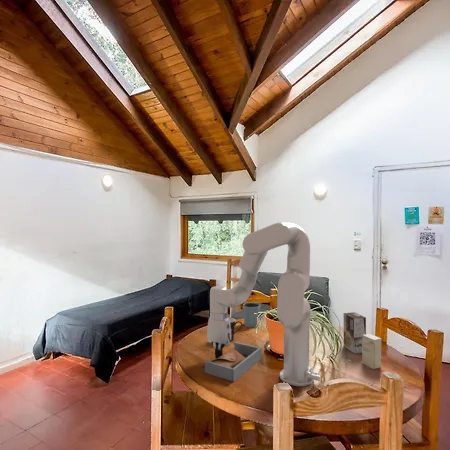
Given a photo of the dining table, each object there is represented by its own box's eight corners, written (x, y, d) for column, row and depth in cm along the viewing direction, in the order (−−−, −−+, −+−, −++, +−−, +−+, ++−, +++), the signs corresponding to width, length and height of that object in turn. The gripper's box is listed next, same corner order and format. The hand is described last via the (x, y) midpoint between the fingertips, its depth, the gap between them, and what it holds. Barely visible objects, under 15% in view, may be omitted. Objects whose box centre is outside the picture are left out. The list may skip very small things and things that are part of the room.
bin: (261, 358, 136) (261, 347, 136) (233, 381, 116) (233, 369, 116) (235, 351, 143) (235, 341, 143) (204, 372, 123) (204, 361, 123)
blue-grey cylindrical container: (253, 321, 187) (253, 301, 187) (264, 326, 179) (264, 305, 178) (239, 324, 182) (239, 303, 182) (249, 329, 173) (249, 307, 173)
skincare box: (361, 363, 131) (361, 334, 131) (369, 361, 133) (369, 333, 133) (374, 369, 125) (374, 339, 125) (381, 367, 127) (381, 338, 127)
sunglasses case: (224, 375, 120) (217, 358, 122) (212, 379, 124) (206, 363, 126) (249, 358, 135) (242, 344, 137) (237, 363, 138) (231, 348, 140)
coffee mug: (217, 341, 155) (216, 322, 155) (220, 335, 163) (220, 316, 163) (239, 343, 152) (239, 323, 152) (242, 337, 161) (242, 318, 160)
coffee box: (366, 352, 141) (366, 317, 141) (353, 353, 140) (353, 318, 140) (355, 344, 150) (355, 311, 150) (343, 345, 149) (343, 312, 149)
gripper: (238, 316, 133) (238, 358, 133) (209, 310, 141) (209, 350, 141) (228, 320, 126) (228, 365, 127) (199, 314, 134) (199, 356, 135)
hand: (218, 357), depth 134 cm, fingers closed
